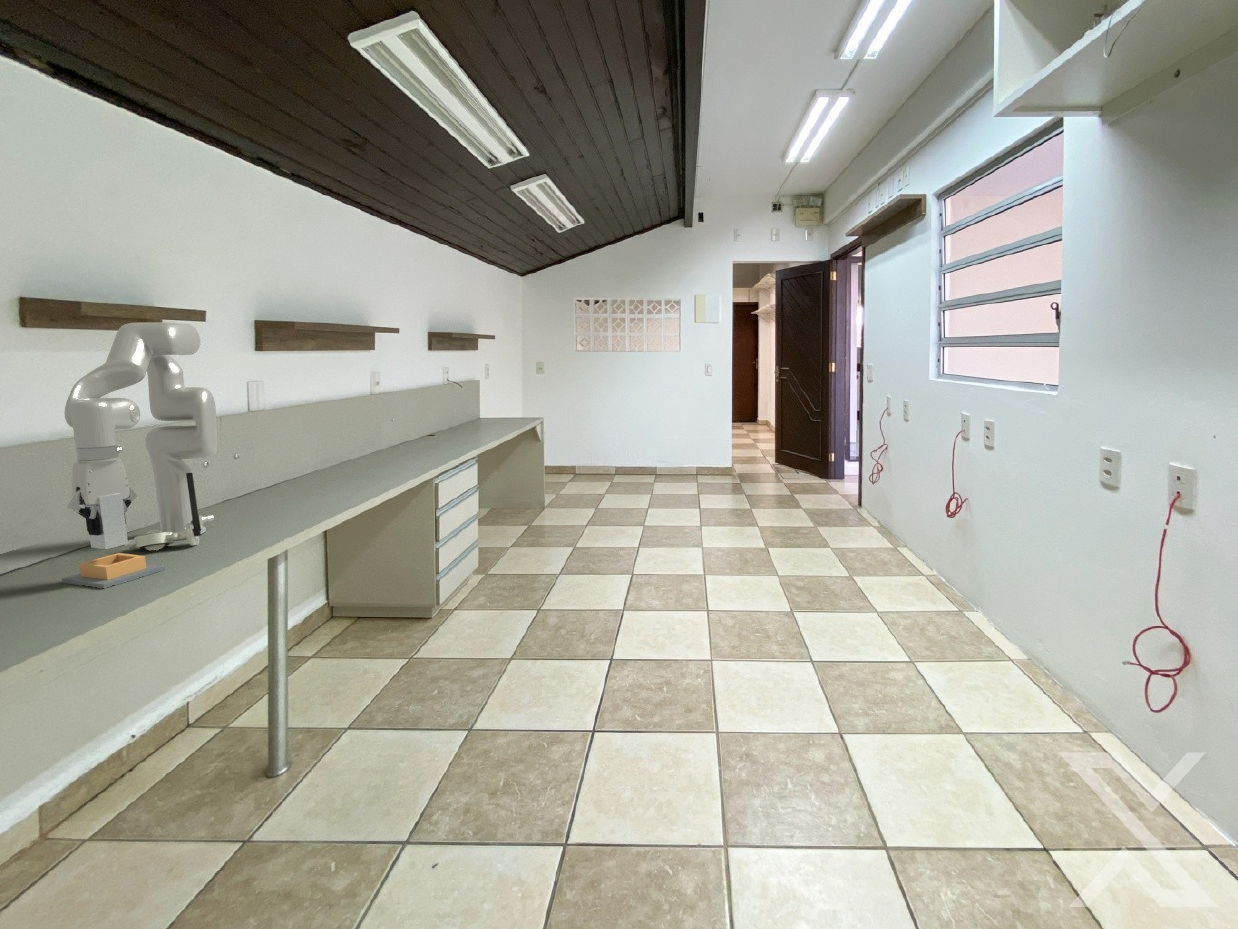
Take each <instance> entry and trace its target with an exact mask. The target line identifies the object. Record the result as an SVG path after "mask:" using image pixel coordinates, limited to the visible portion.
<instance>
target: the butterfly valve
mask: <svg viewBox="0 0 1238 929" xmlns="http://www.w3.org/2000/svg"><path fill="white" fill-rule="evenodd" d="M193 475H194V473H186V477H187V484H188V491H189V499H190V506H191V514H192V520H191V521H190V523H187V525H186V526H185V527H184V529H185V530H186V531H180V532H174V533H173V532H162V531H160V530H158V529H151V530H148V531H147V532H145V534H141V535H138V536H137V535H136V536H134V538H132V539H128V544H125V545H124V547H128V549H130V550H134V549H137V550H148V551H151V550H156V551H159V549H160V550H161V549H163V548H165V547H166V546H170V545H173V544H175V542H179V541H186V540H187V541H188V544H189V545H190V546H198V545H200V544H199V543H200V537H201V536H202V534H203V533H202V532H201V527H200V521H199V507H198V500H197V493H195V491H196V485H195V486H194V483H195V478H194V479H193ZM151 552H152V551H151Z"/></svg>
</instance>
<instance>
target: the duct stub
mask: <svg viewBox="0 0 1238 929" xmlns="http://www.w3.org/2000/svg"><path fill="white" fill-rule="evenodd" d="M125 517H126V515H125V516H124V508H123V500H122V494H115V495H110V496H104V497H99V498H98V505H97V513H96V518H98V519H99V524H100V532H101V534H100V535H98V536H96V535H89V541H90V542H89V543H90V547H91V548H92V549H101V550H107V549H112V548H116V547H117V548H118V547H121V546H123V545H125V544H128V540H129V539H128V532H127V525H126V524H127V522H126V523H125Z"/></svg>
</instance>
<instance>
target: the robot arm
mask: <svg viewBox="0 0 1238 929" xmlns="http://www.w3.org/2000/svg"><path fill="white" fill-rule="evenodd" d="M200 346H201V336H200V334H199V332H198V330H197V329H196V327H194V326H193V325H191V324H190V323H177V322H175V323H174V322H155V321H153V322H148V321H147V322H129V323H125V324H123V325H121V326H120V327H119V328H118V330H117V332H116V334H115V336H114V339H113V342H112V345H111V347H110V350H109V353H108V355H107V358H106V360H105V363H103V364H102V365H99V366H97V367H96V368H94V369H92V370H91V371H90V372H88V373H87V374H85V375H83V376H82V377H80V379H78V381H76V382H75V384H74V385H73V386H72V388H71V390H70V392H69V394H68V397H67V399H66V402H65V406H64V411H63V412H64V413H63V414H64V419H65V421H66V424H67V425H68V426H69V427H70V428H72V430H73V431H72V432H73V436H74V444H75V452H76V459H77V461H76V462H73V464H72V469H71V492H72V493H71V494H72V495H71V496H72V498H71V500H70V501H69V503H68V504H67V509H68V510H70V511H72V512H75V513H76V514H79V515H80V516H81V518H82V519H85V523H86V531H87V532H88V535H89V536H90V535H96V536H98V535H100V534H101V532H100V524H99V519H98V518H96V513H97V505H98V498H99V497H104V496H110V495H115V494H122V500H123V508H124V516H125V523H126V524H127V518H126V512H128V509H129V507H130V506H131V504H132V502H133V501H134V500H135V499H136V498H137V497H138V494H137V493H136V492H135V491H134V490H133V489H132V488H131V487H130V485H129V479H128V475H127V471H126V468H125V465H124V462H123V460H122V458H121V457H119V453H123V448H122V446H118V445H117V435H116V430H119V431H120V430H127V429H131V428H133V427H135V426H136V425H137V424H138V423H139V421H140V418H141V410H140V408H139V406H138V404H137V403H136V402H135V401H134V400H131V399H129V398H124V397H103V396H105V395H108V394H110V393H113V392H116V391H119V390H122V389H125V388H128V387H131V386H133V385H136V384H139V383H140V382H142V381H143V380H144V379H145V378H146V375H147V383H148V398H149V409H150V414H151V416H152V417H153V418H154V419H155V420H157V421H159V422H160V421H161V422H184V421H185V422H187V421H188V422H189V421H192V422H193V421H194V422H195V425H165V426H157V427H155V428H152V429H150V430H149V431H148V432H147V433H146V434H145V437H144V438H145V439H144V441H145V442H144V443H145V447H146V450H147V453H148V455H149V459H150V463H151V467H152V468H151V469H152V473H153V479H154V487H155V494H156V503H157V511H158V519H159V527H160V530H159V531H162V532H173V533H174V532H180V531H186V530H185V529H184V527H185V526H186V525H187V523H190V521H191V520H192V514H191V506H190V499H189V491H188V484H187V477H186V473H193V470H192V469H191V467H190V466H189V465H188V464H187V463H186V462H185V460H186V459H187V460H191V459H193V460H194V459H208V458H211V457H214V456H215V455H216V453H217V452H218V446H219V444H218V443H219V442H218V441H219V439H218V425H217V422H218V421H217V408H216V402H215V397H214V396H213V394H212V392H211V391H210V390H209V389H207V388H205V387H200V386H195V387H192V386H191V387H189V386H188V387H185V381H184V378H185V377H184V371H183V369H182V367H181V366H180V364H179V362H177V361H176V360H175V359H174V358H173V357H172V356H190V355H195V354H196V353H197V352H198V350H200ZM193 479H194V480H195V476H194V473H193ZM194 486H195V487H196V484H195V482H194ZM195 493H196V490H195ZM196 494H197V493H196ZM82 506H83V507H82ZM214 520H215V516H214V515H213V514H208V515H204V516H203V515H199V521H200V527H201V532H202V534H204V533H206V531H207V526H205V524H206V523H210V522H213V521H214Z"/></svg>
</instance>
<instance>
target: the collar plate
mask: <svg viewBox="0 0 1238 929" xmlns="http://www.w3.org/2000/svg"><path fill="white" fill-rule="evenodd" d="M78 565H79V566H78V567H79V573H76V574H73V575H70V576H66V577H62V578H61V581H62V583H63V584H69V585H76V586H82V585H85V586H84V587H88V586H92V587H91V588H95V587H97V589H102V588H104V589H108V588H107V587H109V588H111V587H110V586H112V585H115V586H118V585H122V584H124V583H127V581H128V582H131V581H134V580H138V579H140V578H139V577H141V578H143V577H142V576H144V577H147V576H150V575H152V574H156V573H160V572H162V571H165V566H164V565H159V564H152V563H151V564H149V563H147V562H146V556H145V555H140V554H139V555H138V554H130V553H122V552H117V553H114V554H110V555H106V556H103V557H99V558H95V559H91V560H87V561H84V562H81V563H78ZM159 571H160V572H159ZM112 587H113V586H112ZM104 589H103V590H104Z"/></svg>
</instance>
